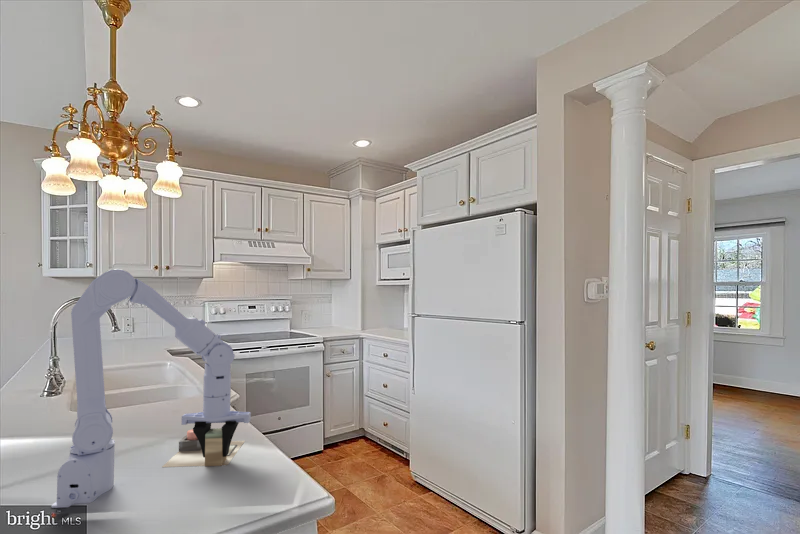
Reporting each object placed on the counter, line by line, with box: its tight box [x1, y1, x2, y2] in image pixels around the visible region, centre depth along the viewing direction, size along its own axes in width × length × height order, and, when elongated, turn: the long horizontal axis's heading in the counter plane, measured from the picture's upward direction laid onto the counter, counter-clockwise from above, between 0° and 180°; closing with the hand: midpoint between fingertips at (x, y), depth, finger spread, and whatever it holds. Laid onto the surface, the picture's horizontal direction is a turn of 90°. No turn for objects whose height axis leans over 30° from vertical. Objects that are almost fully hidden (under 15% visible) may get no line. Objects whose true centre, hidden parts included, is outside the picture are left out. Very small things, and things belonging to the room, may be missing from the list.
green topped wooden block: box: [204, 427, 227, 467], centre depth 98 cm, size 4×4×7 cm
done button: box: [186, 428, 198, 440], centre depth 108 cm, size 3×3×3 cm
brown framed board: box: [161, 434, 246, 468], centre depth 104 cm, size 18×16×3 cm
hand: (216, 455), depth 98 cm, fingers closed on green topped wooden block, 4 cm apart
